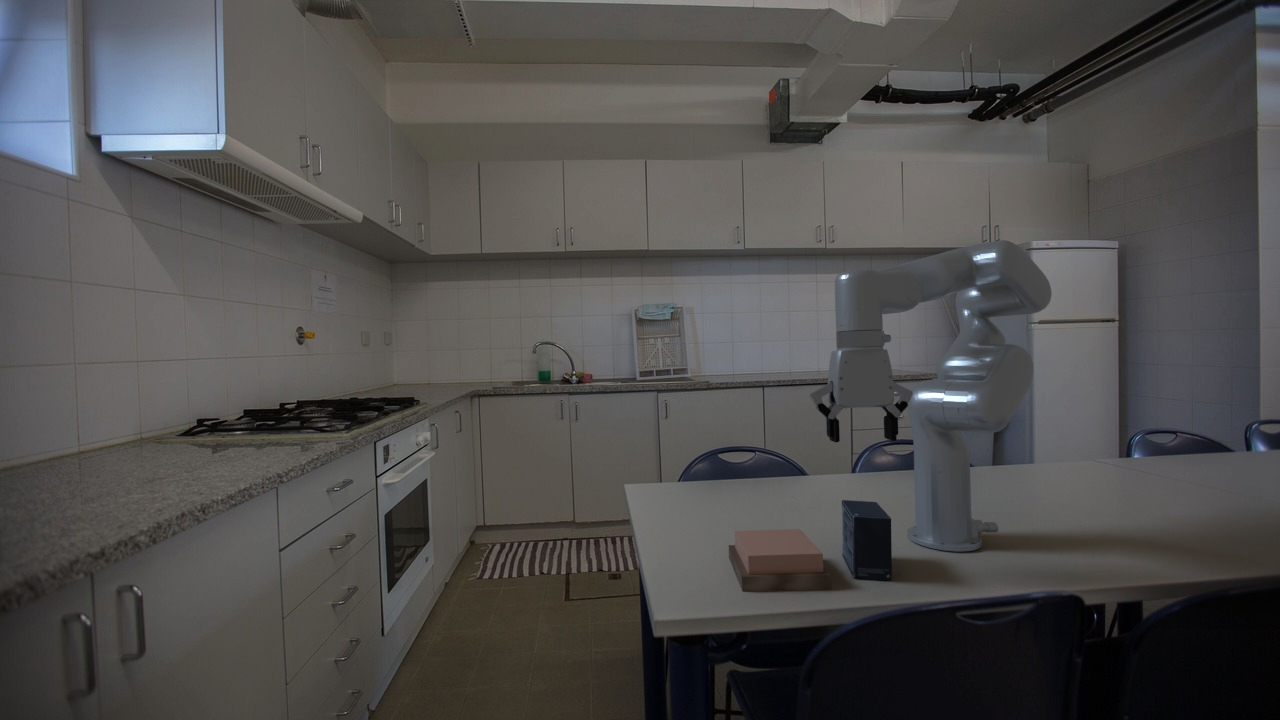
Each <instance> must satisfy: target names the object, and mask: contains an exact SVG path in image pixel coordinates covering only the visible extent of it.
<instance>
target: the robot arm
mask: <svg viewBox="0 0 1280 720" xmlns="http://www.w3.org/2000/svg"><path fill="white" fill-rule="evenodd" d="M953 294H956V296H955V310H956V315H957V320H958V325H959V326H958V327H959V333H958V335H957V337H956V338H955V340H954V342H953V343H952V345H950V346H949V349H948V350H947V351H946V353H945V355H944V356H943V358H942V359H941V361H940V362H939V364H938V366H937V370H936V372H937V375H936V376H937V379H927V380H922V381H920V382H917V383H915V384H913V386H911V388H910V389H908V388H906V387H904V386H903V385H900V384H898V383H896V382H894V375H893V374H894V373H893V369H892V364H891V359H890V355H889V352H888V349H884V346H885V344H886V343H891V341H892V336H891V334H887V333H885V331H884V327H883V325H884V323H883V315H889V314H890V315H891V314H899V313H905V312H908V311H911V310H913V309H914V308H915V307H917V306H918V305H919V304H921V303H927V302H932V301H937V300H940V299H942V298H945V297H949V296H950V295H953ZM1051 300H1052V287H1051V284H1050V281H1049V279H1048V277H1047V276H1046V275H1045V273H1044V272H1043V271H1042V269H1040V267H1039V266H1038V265H1037V264H1036V263H1035V261H1034V260H1033V259H1032V258H1031V257H1030V256H1029V255H1028V254H1027V252H1026V251H1024V249H1022V248H1021V247H1020V246H1018V245H1017V244H1016V243H1014V242H1012V241H1009V240H1005V239H1004V240H1003V239H999V240H995V241H994V240H993V241H990V242H985V243H978V244H972V245H968V246H964V247H958V248H954V249H952V250H948V251H944V252H941V253H936V254H934V255H930V256H926V257H922V258H918V259H915V260H912V261H909V262H905V263H902V264H898V265H896V266H892V267H888V268H885V269H880V270H874V269H855V270H854V269H852V270H846V271H843V272H840V273H839V274H838V275H837V276H836V277H835V279H834V302H835V303H834V304H835V305H834V307H835V312H834V313H835V331H836V332H835V335H836V336H835V337H836V339H835V341H836V350H832V351H831V353H830V358H829V364H828V365H829V366H828V374H827V375H828V376H827V377H828V378H827V384H826V385H824V386H822V387H820V388H818V389H817V390H814V391H813V392H811V393H810V394H809V398H810V399H811V401H812V403H813V405H814V406H815V409H816V410H817V411H819V412H820V413H821V414H822V415H823V417H824V418H825V419H826V420H825V421H826V436H827V437H828V438H829V440H830V442H833V443H839V442H840V441H841V438H840V420H839V419H838V418H837V417H838V415H839V414H840V412H841V411H842V410H843V409H844V408H845V409H846V408H847V409H853V408H854V409H855V408H857V409H858V408H860V409H861V408H881V409H882V410H883V411H884V413H885V414H886V415H884V417H883V434H884V435H883V437H884V439H887V440H889V441H892V442H896V441H897V440H898V439H897V436H898V435H899V418H900V417H901V416H902V413H904V411H905V410H906V409H907V414H908V417H909V418H908V419H909V423H910V425H911V431H912V433H911V434H912V441H913V442H912V443H913V465H914V466H913V470H914V471H913V473H914V502H915V503H914V505H915V506H914V507H915V508H914V509H915V525H914V526H911V527H909V528H908V529H907V538H908V539H909V540H910V541H912V542H914V544H918V545H920V546H923V547H926V548H929V549H933V550H940V551H945V552H960V553H961V552H973V551H976V550H979V549H980V548H982V546H983V539H982V538H981V537H980V536H979V535H982V533H998V531H999V526H998V523H997V522H995V521H985V522H983V520H981V519H974V518H973V517H972V493H971V492H972V491H971V489H972V488H971V455H970V450H969V447H968V445H967V443H966V442H965V440H964V438H963V436H962V435H961V434H960V432H959V431H963V432H971V433H972V432H973V433H983V434H984V433H986V434H993V433H998V432H1000V431H1002V430H1004V429H1005V428H1006V427H1007V425H1008V424H1009V423H1010V421H1011V420H1012V418H1013V416H1015V413H1016V411H1017V410H1018V408H1019V406H1020V404H1021V402H1022V401H1023V399H1024V398H1025V396H1026V394H1027V392H1028V390H1029V389H1030V386H1031V384H1032V381H1033V377H1034V362H1033V358H1032V357H1031V355H1030V353H1029V352H1028V350H1026V349H1025V348H1024V347H1022V346H1019V345H1016V344H1011V343H1010V344H1008V343H1006V338H1005V335H1004V334H1003V332H1002V330H1000V328H999V327H998V326H997V325H995V323H993V322H992V321H991V319H990V318H996V317H998V318H999V317H1010V316H1011V317H1012V316H1020V315H1021V316H1022V315H1032V314H1036V313H1040V312H1042V311H1043V310H1045V309H1046V308H1047V307H1048V306H1049V304H1050V302H1051ZM895 393H897V394H899V396H900V397H899V399H898V401H896V403H894V401H895ZM826 395H827V401H828V403H829V406H826V404H825V403H824V402H823V399H822V398H823V397H825V396H826Z"/></svg>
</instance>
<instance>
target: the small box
mask: <svg viewBox="0 0 1280 720" xmlns="http://www.w3.org/2000/svg"><path fill="white" fill-rule="evenodd" d="M841 509H842V511H841V512H842V515H841V516H842V558H843V560H844V562H845V564H846V566H847V568H848V570H849V572H850V574H851V575H852V578H853V579H859V580H860V579H861V580H862V579H863V580H864V579H866V580H874V581H875V580H876V581H892V580H893V562H892V561H893V560H892V559H893V556H892V552H893V550H892V548H893V547H892V518H891V516H890V515H889V514H888V513H887V511H885V510H884V509H883V507H882V506H881V505H880V504H879V503H878V501H863V500H848V499H842V500H841Z"/></svg>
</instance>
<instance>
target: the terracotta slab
mask: <svg viewBox="0 0 1280 720" xmlns="http://www.w3.org/2000/svg"><path fill="white" fill-rule="evenodd" d="M734 545H735V548H736V550H737V552H738V554H739V556H740V558H741V560H742V562H743V564H744V566H745V568H746V570H747V572H748V574H780V573H814V572H823V567H824V553H823V552H822V551H821V550H820V549H819V548H818V547H817V545H816V544H814V542H813V541H812V540H811V539H810V538H809V537H808V536H807V535H806V534H805V533H804V532H803V531H802V530H801V529H800V528H790V529H789V528H788V529H757V530H754V529H753V530H734Z"/></svg>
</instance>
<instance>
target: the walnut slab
mask: <svg viewBox="0 0 1280 720" xmlns="http://www.w3.org/2000/svg"><path fill="white" fill-rule="evenodd" d="M728 559H729V561H730V565H731V566H732V568H733V572H734V574H735V576H736V579H737V581H738V584H739V587H740V588H741V592H768V591H769V592H771V591H772V592H773V591H779V592H780V591H815V590H816V591H817V590H818V591H823V590H829V591H831V588H832V587H831V585H832V584H831V581H832V579H831V574H830V572H829V571H828V570H827V569H826V568H825V567H824V566H823V572H814V573H780V574H748V572H747V570H746V568H745V566H744V564H743V562H742V560H741V558H740V556H739V554H738V552H737V550H736V548H735V544H733V545H731V544H729V545H728Z"/></svg>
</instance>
